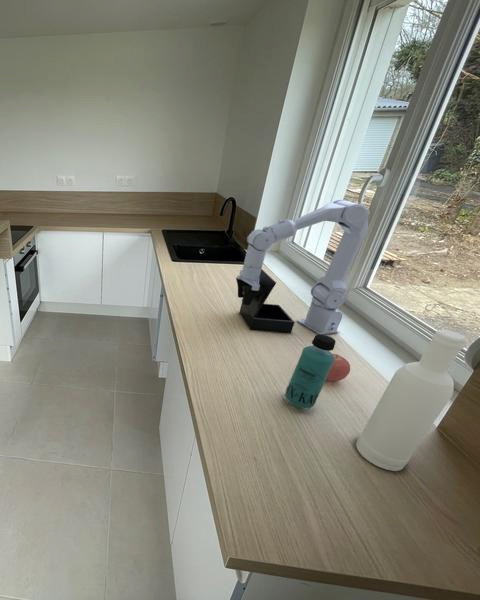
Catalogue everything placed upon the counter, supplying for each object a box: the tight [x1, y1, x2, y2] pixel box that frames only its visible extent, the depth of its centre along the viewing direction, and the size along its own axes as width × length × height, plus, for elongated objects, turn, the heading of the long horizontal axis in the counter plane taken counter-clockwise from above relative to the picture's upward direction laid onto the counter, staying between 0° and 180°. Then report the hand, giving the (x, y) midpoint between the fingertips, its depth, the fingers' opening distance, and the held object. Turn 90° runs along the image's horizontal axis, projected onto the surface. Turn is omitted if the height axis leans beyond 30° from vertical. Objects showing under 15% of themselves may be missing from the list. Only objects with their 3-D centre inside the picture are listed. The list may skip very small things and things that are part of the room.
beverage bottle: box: [284, 333, 336, 410], centre depth 77 cm, size 6×7×20 cm
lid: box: [241, 268, 277, 318], centre depth 114 cm, size 14×13×4 cm
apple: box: [326, 353, 351, 382], centre depth 89 cm, size 7×7×8 cm
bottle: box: [355, 329, 468, 472], centre depth 61 cm, size 8×8×30 cm
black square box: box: [238, 301, 296, 334], centre depth 118 cm, size 13×13×5 cm
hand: (243, 300), depth 116 cm, fingers closed on lid, 5 cm apart
